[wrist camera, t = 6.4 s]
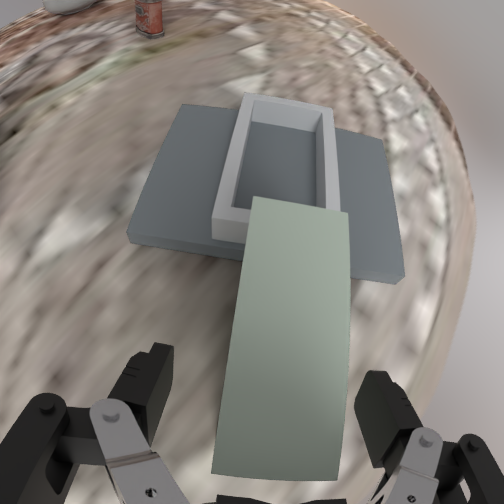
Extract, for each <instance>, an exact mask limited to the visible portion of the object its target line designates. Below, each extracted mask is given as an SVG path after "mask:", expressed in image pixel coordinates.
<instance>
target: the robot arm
mask: <svg viewBox="0 0 504 504" xmlns="http://www.w3.org/2000/svg"><path fill="white" fill-rule="evenodd" d="M173 361H174V346H171V345H167V344H162V343H157V342H155V343H154V344H153V346H152V348H151V350H150V352H149V353H145V352H141V351H140V352H139V353H137V354H136V355H134V356H132V357H131V358H130V360H129V362H128V363H127V365H126V367H125V368H124V370H123V372H122V374H121V375H120V377H119V379H118V380H117V382H116V384H115V385H114V387H113V389H112V391H111V392H110V394H109V396H108V398H107V399H102V400H99V401H97V402H96V403H94V404H93V405H92V407H91V408H77V407H67V406H66V403H65V401H64V400H63V399H62V398H61V397H60V396H58V395H56V394H53V393H42V394H38V395H36V396H34V397H33V398H32V399H31V400H30V402H29V403H28V404H27V406H26V407H25V409H24V410H23V411H22V413H21V414H20V416H19V417H18V419H17V420H16V421H15V423H14V424H13V426H12V427H11V429H10V430H9V432H8V433H7V435H6V436H5V438H4V439H3V441H2V442H1V444H0V504H64V502H65V499H66V497H67V494H68V492H69V489H70V487H71V484H72V482H73V480H74V477H75V475H76V472H77V470H78V468H79V465H80V464H88V465H103V466H104V467H105V469H106V472H107V474H108V477H109V479H110V481H111V484H112V486H113V488H114V490H115V493H116V495H117V497H118V499H119V501H120V504H190V503H189V502H188V500H187V499H186V497H185V496H184V494H183V493H182V491H181V490H180V488H179V487H178V485H177V484H176V482H175V480H174V479H173V477H172V476H171V474H170V472H169V471H168V469H167V467H166V466H165V464H164V462H163V461H162V459H161V457H160V456H159V455H158V453H157V452H152V450H151V449H150V447H151V444H152V442H153V439H154V436H155V433H156V430H157V427H158V424H159V421H160V418H161V416H162V413H163V410H164V407H165V404H166V401H167V398H168V396H169V393H170V390H171V386H172V380H173ZM411 405H412V404H411V403H410V401H409V400H408V397H407V395H406V394H405V392H404V390H403V389H402V388H401V387H400V386H399V385H398V384H396V383H395V382H392V380H391V378H390V376H389V375H388V373H387V372H386V371H373V370H369V371H368V372H367V373H366V375H365V378H364V380H363V382H362V385H361V387H360V389H359V391H358V394H357V396H356V398H355V403H354V410H355V414H356V417H357V419H358V422H359V425H360V428H361V431H362V434H363V438H364V441H365V444H366V447H367V450H368V453H369V456H370V459H371V462H372V465H373V468H382V467H384V468H385V472H384V473H383V475H382V476H381V478H380V480H379V482H378V484H377V486H376V488H375V489H374V491H373V493H372V495H371V497H370V499H369V500H368V502H367V504H504V476H503V474H502V472H501V470H500V469H499V467H498V465H497V463H496V461H495V459H494V458H493V456H492V454H491V452H490V450H489V449H488V447H487V445H486V444H485V442H484V441H483V440H482V439H481V438H480V437H478V436H476V435H474V434H465V435H463V436H462V437H461V438H460V440H459V441H458V443H454V442H446V441H443V440H442V438H441V436H440V435H439V434H438V433H437V432H436V431H434V430H432V429H430V428H425V427H423V425H422V423H421V421H420V419H419V417H418V416H417V414H416V412H415V410H414V408H413V406H411ZM464 478H465V480H466V483H467V485H468V487H469V489H470V493H471V497H470V500H469V501H468V503H467V500H466V498H465V496H464V493H463V491H462V488H461V486H460V482H461V481H462V480H463V479H464ZM204 504H270V503H266V502H263V501H259V500H255V499H252V498H243V497H233V496H225V495H217V498H216V502H212V503H204ZM301 504H347V502H346V499H330V500H314V501H310V502H306V503H301Z"/></svg>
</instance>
